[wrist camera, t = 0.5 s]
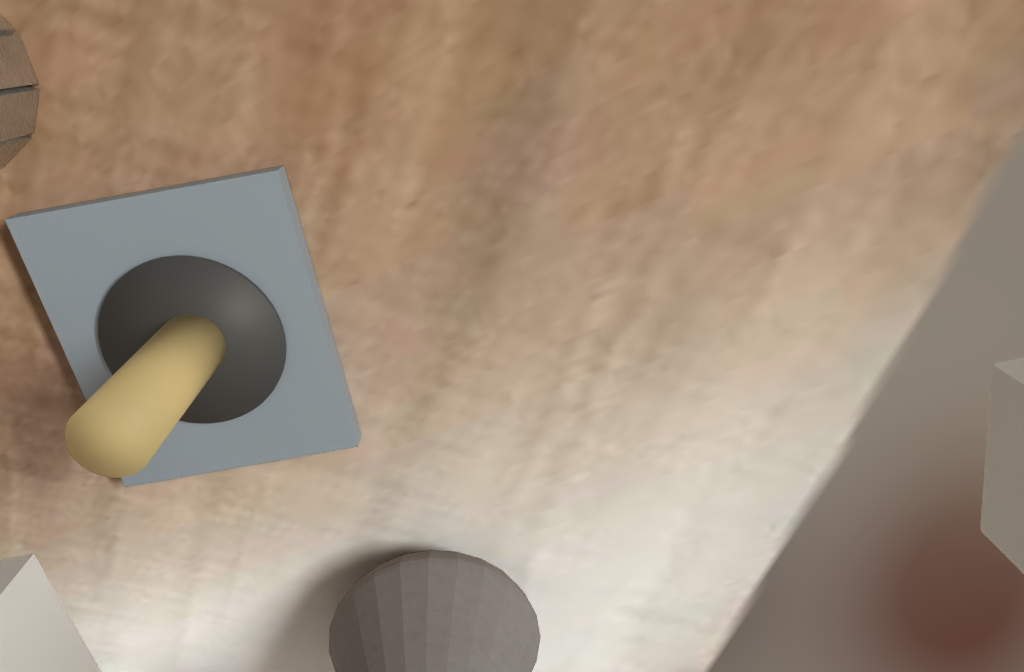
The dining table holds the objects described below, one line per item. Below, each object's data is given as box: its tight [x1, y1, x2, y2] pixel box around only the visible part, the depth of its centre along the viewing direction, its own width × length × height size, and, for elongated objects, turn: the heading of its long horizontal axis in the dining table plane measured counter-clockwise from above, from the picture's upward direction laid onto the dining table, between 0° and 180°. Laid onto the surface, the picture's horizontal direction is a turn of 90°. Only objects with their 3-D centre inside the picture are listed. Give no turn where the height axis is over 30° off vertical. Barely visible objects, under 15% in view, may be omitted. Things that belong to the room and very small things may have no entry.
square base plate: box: [5, 165, 361, 487], centre depth 31 cm, size 14×12×10 cm
